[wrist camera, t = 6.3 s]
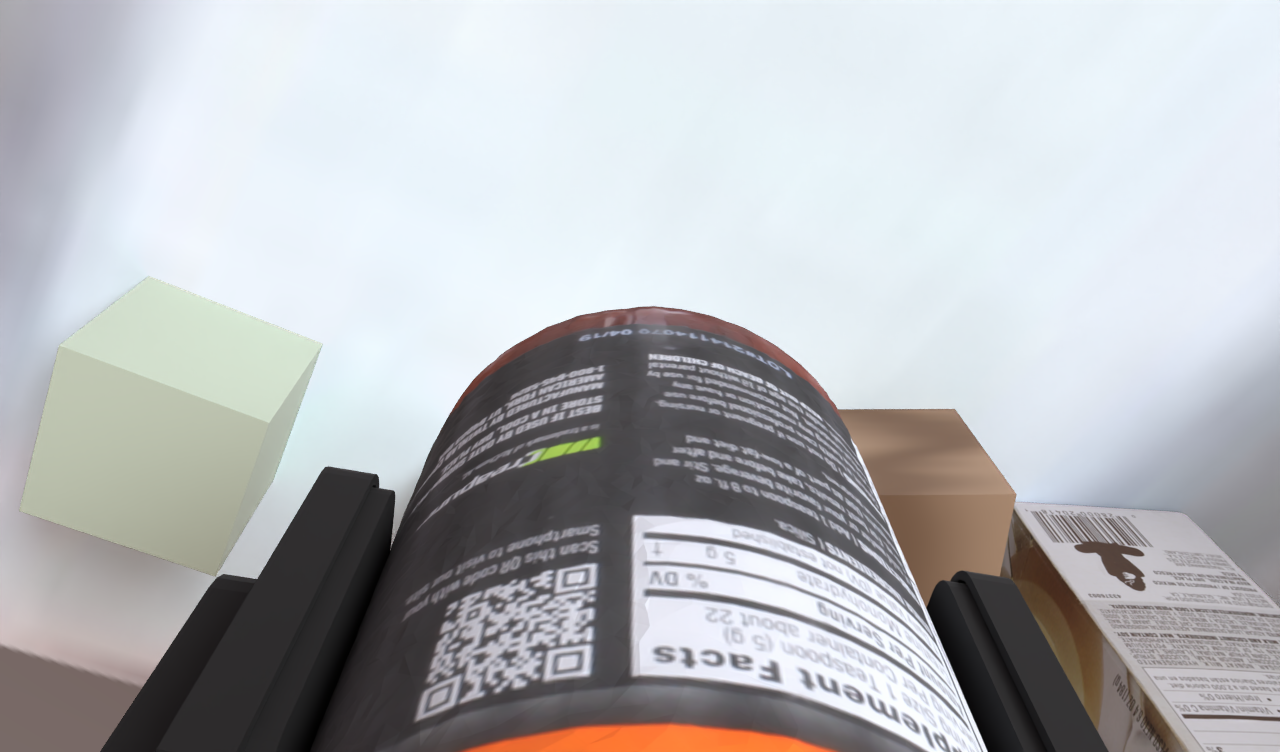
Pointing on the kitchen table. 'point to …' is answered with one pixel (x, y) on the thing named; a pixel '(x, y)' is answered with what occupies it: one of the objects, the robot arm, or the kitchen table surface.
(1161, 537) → the coffee box
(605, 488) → the supplement bottle
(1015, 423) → the kitchen table surface
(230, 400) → the sage cube
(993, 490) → the walnut cube
